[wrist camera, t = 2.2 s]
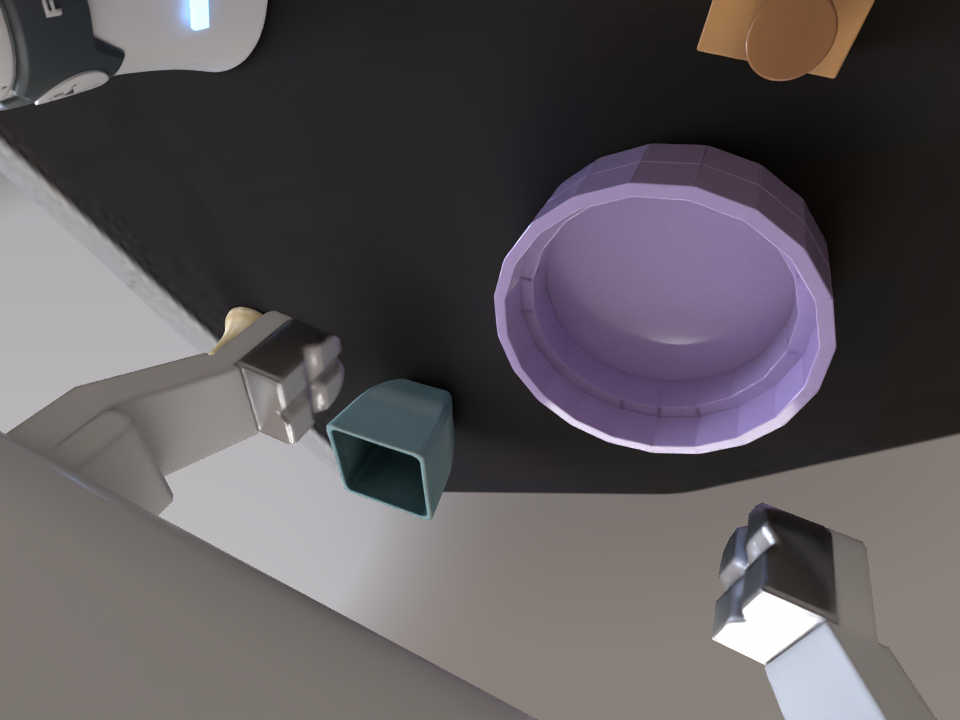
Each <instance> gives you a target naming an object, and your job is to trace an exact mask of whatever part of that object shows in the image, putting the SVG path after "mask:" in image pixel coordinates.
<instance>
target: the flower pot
mask: <svg viewBox="0 0 960 720" xmlns="http://www.w3.org/2000/svg"><path fill="white" fill-rule="evenodd" d="M327 433H328V436H329V439H330V442H331V445H332V448H333V451H334V455H335V458H336V461H337V465H338V468H339V472H340V476H341V479H342V482H343V485H344V487H345V489H346V490H347V491H349V492H351V493H353V494H356V495H359V496H362V497H364V498H367V499H371V500H373V501H376V502H379V503H381V504H384V505H387V506H389V507H392V508H395V509H398V510H401V511H404V512H406V513H409V514H411V515H414V516H416V517H419V518H422V519H425V520H432V518H433V515H434V512H435V510H436V508H437V505H438V503H439V500H440V498H441V495H442V492H443V490H444V487H445V485H446V482H447V480H448V477H449V474H450V470H451V466H452V461H453V454H454V425H453V411H452V397H451V394H450V393H449V392H448V391H446V390H442V389H438V388H435V387H431V386H427V385H424V384H420V383H417V382H414V381H410V380H407V379H398V380H393V381H388V382H384V383H381V384H379V385H376V386H374V387H372V388H370V389H369V390H367V391H365V392H364V393H363V394H361V395H360V396H359V397H358V398H357V399H355V400H354V401H353V402H352V403H351V404H350V405H349V406H348V407H346V408H345V409H344V410H343V411H342V412H341V413H340V414H339V415H338V416H336V417H335V418H334V419H333V420H332V421H331V422H330V423H329V424H328V425H327Z"/></svg>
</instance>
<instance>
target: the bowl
mask: <svg viewBox="0 0 960 720" xmlns="http://www.w3.org/2000/svg"><path fill="white" fill-rule="evenodd" d="M494 302H495V312H496V323H497V333H498V337H499V339H500V341H501V344H502V346H503V348H504V350H505V353H506V355H507V357H508V359H509V362H510V364H511V366H512V368H513V369H514V371H515V373H516V374H517V375H518V376H519V377H520V379H521V380H522V381H523V382H524V384H525V385H526V386H527V387H528V388H529V390H530V391H531V392H532V393H533V394H534V396H535V397H536V398H537V399H538V400H539V401H540V402H541V403H542V404H544V405H545V406H546V407H548V408H549V409H550V410H552V411H553V412H554V413H556V414H557V415H558V416H560V417H561V418H562V419H564V420H565V421H566V422H568V423H569V424H571V425H572V426H574V427H576V428H579V429H581V430H583V431H585V432H587V433H589V434H592V435H594V436H596V437H598V438H600V439H602V440H605V441H607V442H610V443H613V444H617V445H622V446H626V447H630V448H634V449H639V450H643V451H647V452H651V453H652V452H653V453H678V454H698V453H699V454H702V453H707V452H712V451H717V450H721V449H726V448H731V447H736V446H741V445H745V444H747V443H749V442H751V441H753V440H755V439H758V438H760V437H762V436H764V435H766V434H768V433H770V432H772V431H774V430H776V429H778V428H780V427H782V426H784V425H785V424H786V423H787V422H788V421H789V420H790V419H791V418H792V417H793V416H794V415H795V414H796V413H797V412H798V411H799V410H800V409H801V408H802V407H803V406H804V405H805V404H806V403H807V402H808V401H809V400H810V399H811V398H812V397H813V396H814V395H815V394H816V393H817V392H818V391H819V389H820V387H821V384H822V382H823V380H824V377H825V375H826V372H827V370H828V367H829V365H830V362H831V360H832V357H833V355H834V352H835V350H836V333H835V318H834V303H833V293H832V284H831V274H830V265H829V256H828V247H827V242H826V240H825V239H824V237H823V235H822V233H821V231H820V229H819V227H818V225H817V224H816V222H815V220H814V218H813V216H812V214H811V212H810V211H809V209H808V207H807V205H806V203H805V201H804V200H803V199H802V198H801V197H800V196H799V195H798V194H796V193H795V192H794V191H793V190H792V189H790V188H789V187H788V186H787V185H786V184H784V183H783V182H782V181H781V180H779V179H778V178H777V177H776V176H775V175H773V174H772V173H771V172H770V171H769V170H767V169H766V168H765V167H764V166H763V165H760V164H758V163H755V162H753V161H750V160H747V159H744V158H742V157H739V156H736V155H733V154H731V153H728V152H725V151H722V150H720V149H717V148H714V147H711V146H706V145H685V144H654V143H652V144H651V145H650V144H647V145H643V146H640V147H636V148H633V149H629V150H626V151H622V152H619V153H615V154H612V155H608V156H605V157H601V158H599V159H597V160H596V161H594V162H593V163H591V164H590V165H588V166H587V167H585V168H584V169H582V170H581V171H579V172H578V173H576V174H575V175H573V176H572V177H570V178H569V179H567V180H566V181H564V182H563V183H561V185H559V187H558V188H557V189H556V191H555V192H554V193H553V195H552V196H551V197H550V199H549V200H548V201H547V203H546V204H545V205H544V207H543V208H542V209H541V210H540V212H539V213H538V214H537V216H536V217H535V218H534V220H533V221H532V222H531V224H530V225H529V226H528V228H527V229H526V230H525V232H524V233H523V234H522V236H521V237H520V238H519V240H518V241H517V242H516V244H515V245H514V246H513V248H512V249H511V250H510V252H509V253H508V254H507V256H506V257H505V259H504V261H503V265H502V269H501V272H500V276H499V280H498V283H497V287H496V291H495V294H494Z"/></svg>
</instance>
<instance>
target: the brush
mask: <svg viewBox="0 0 960 720" xmlns="http://www.w3.org/2000/svg"><path fill="white" fill-rule="evenodd" d="M874 1H875V0H713V1H712V4H711V7H710V10H709V13H708V16H707V19H706V22H705V25H704V28H703V31H702V34H701V37H700V40H699V43H698V46H697V50H698V51H702V52H706V53H711V54H716V55H721V56H726V57H731V58H736V59H741V60H745V61H748V62H749V64H750V66H751V68H752V69H753V70H754V71H755V72H756V73H757V74H758V75H760V76H761V77H763V78H765V79H768V80H772V81H788V80H792V79H795V78H798V77H800V76H802V75H805V74H806V73H809V74H814V75H819V76H823V77H828V78H835V77H836V76H837V74H838V72H839V70H840V68H841V66H842V64H843V62H844V60H845V58H846V56H847V54H848V52H849V50H850V48H851V46H852V44H853V42H854V41H855V39H856V37H857V35H858V33H859V31H860V29H861V27H862V25H863V23H864V21H865V19H866V17H867V15H868V13H869V11H870V9H871V7H872V5H873V3H874Z"/></svg>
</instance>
